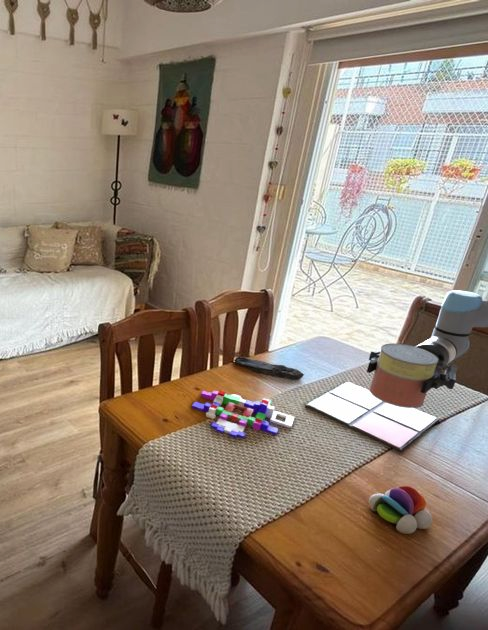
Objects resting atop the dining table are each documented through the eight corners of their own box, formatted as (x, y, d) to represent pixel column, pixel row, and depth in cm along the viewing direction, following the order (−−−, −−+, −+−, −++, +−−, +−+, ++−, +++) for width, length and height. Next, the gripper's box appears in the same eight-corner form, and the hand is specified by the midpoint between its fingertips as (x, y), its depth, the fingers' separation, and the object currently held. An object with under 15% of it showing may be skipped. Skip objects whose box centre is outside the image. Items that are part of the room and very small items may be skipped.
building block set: (182, 420, 120) (184, 406, 118) (206, 388, 135) (208, 375, 134) (281, 455, 106) (284, 440, 105) (295, 415, 122) (298, 401, 121)
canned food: (434, 403, 108) (449, 359, 103) (402, 412, 104) (417, 367, 100) (389, 381, 118) (401, 340, 113) (358, 388, 114) (370, 347, 110)
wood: (228, 367, 148) (229, 359, 147) (234, 358, 154) (235, 351, 153) (300, 386, 137) (302, 378, 136) (304, 376, 142) (305, 368, 141)
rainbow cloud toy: (436, 529, 86) (448, 500, 83) (398, 541, 84) (409, 512, 81) (395, 498, 94) (404, 470, 91) (359, 508, 91) (368, 480, 88)
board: (438, 421, 120) (439, 418, 119) (399, 453, 107) (401, 449, 107) (346, 384, 138) (347, 380, 138) (304, 407, 126) (305, 404, 125)
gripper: (483, 385, 110) (449, 413, 99) (380, 351, 128) (342, 371, 117) (494, 359, 107) (460, 384, 96) (387, 327, 125) (348, 345, 114)
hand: (395, 377), depth 106 cm, fingers closed on canned food, 11 cm apart
